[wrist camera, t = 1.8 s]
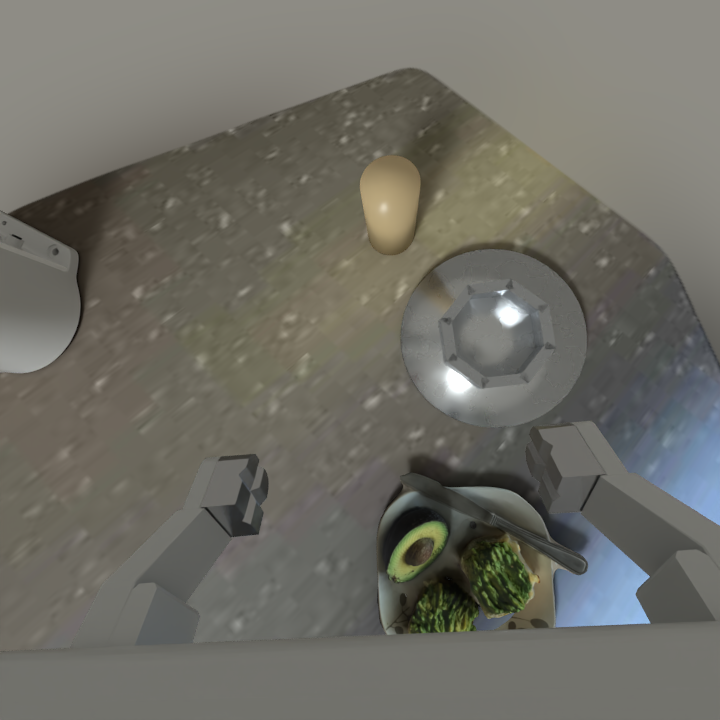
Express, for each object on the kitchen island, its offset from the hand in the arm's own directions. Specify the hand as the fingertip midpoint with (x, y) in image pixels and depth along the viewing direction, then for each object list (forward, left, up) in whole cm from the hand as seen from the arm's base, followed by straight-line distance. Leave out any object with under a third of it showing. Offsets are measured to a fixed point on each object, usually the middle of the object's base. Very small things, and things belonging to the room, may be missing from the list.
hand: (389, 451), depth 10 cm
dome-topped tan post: (-12, +15, -26) cm, 32 cm away
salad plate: (+14, -8, -26) cm, 31 cm away
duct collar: (+3, +12, -26) cm, 28 cm away
